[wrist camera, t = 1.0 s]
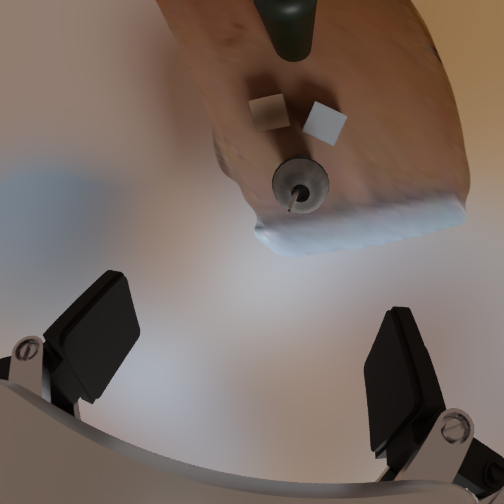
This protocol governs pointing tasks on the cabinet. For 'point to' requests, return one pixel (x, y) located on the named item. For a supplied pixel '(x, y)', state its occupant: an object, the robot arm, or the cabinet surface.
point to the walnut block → (269, 112)
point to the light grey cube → (324, 123)
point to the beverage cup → (300, 184)
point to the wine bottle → (289, 26)
